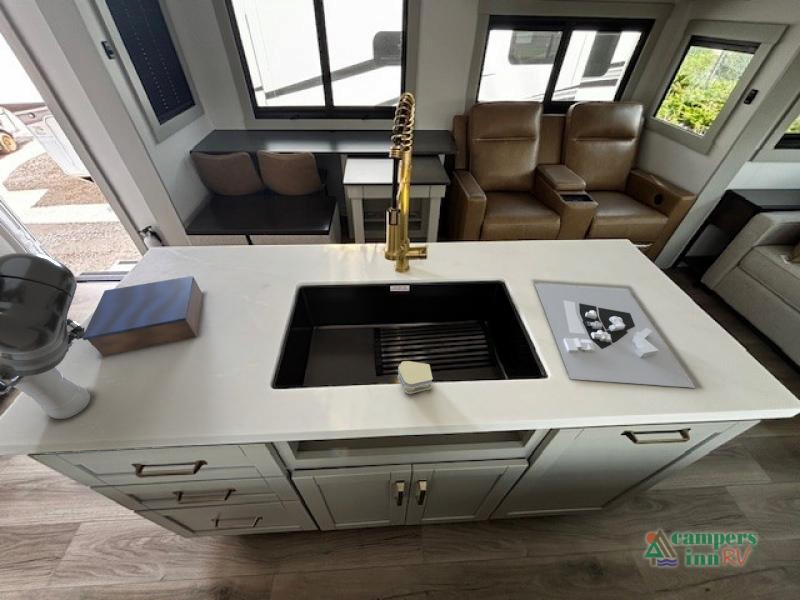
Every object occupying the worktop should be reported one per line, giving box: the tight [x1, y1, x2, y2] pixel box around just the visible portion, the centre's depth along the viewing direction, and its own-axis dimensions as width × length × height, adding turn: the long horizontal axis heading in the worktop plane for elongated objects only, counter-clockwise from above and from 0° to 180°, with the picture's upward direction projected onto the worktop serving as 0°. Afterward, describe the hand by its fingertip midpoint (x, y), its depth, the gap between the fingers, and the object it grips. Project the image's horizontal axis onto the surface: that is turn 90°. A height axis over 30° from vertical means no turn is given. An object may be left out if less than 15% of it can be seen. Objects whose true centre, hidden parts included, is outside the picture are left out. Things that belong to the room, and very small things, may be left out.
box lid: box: [81, 275, 195, 341], centre depth 80 cm, size 20×17×1 cm
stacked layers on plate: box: [397, 360, 434, 395], centre depth 72 cm, size 10×9×6 cm
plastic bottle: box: [12, 366, 91, 420], centre depth 61 cm, size 6×7×20 cm
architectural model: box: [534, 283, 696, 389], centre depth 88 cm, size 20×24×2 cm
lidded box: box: [87, 278, 203, 357], centre depth 83 cm, size 20×17×7 cm
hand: (33, 367), depth 55 cm, fingers open, 8 cm apart
